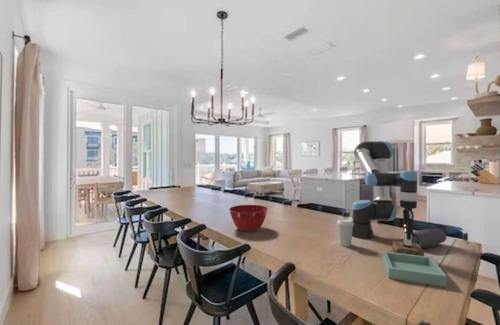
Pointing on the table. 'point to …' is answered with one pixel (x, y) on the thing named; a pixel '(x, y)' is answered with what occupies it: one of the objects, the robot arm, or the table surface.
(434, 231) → the bluetooth speaker
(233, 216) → the mixing bowl
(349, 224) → the coffee cup
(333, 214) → the table surface
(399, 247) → the wooden socket block
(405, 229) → the pin
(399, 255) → the parts tray
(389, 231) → the table surface
